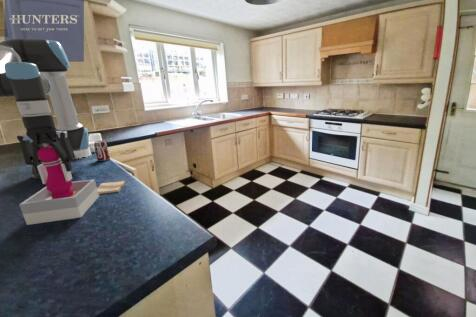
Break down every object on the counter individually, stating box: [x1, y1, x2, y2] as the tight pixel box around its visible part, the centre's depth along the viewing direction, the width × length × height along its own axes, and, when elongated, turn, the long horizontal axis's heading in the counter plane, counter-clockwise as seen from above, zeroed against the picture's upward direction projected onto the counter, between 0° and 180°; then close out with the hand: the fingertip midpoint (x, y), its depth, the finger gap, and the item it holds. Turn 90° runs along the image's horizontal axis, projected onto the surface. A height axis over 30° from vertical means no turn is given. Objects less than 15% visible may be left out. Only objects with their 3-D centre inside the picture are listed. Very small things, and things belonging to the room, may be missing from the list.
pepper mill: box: [37, 143, 74, 199], centre depth 76 cm, size 7×7×20 cm
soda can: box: [94, 139, 111, 162], centre depth 137 cm, size 7×7×12 cm
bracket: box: [73, 132, 103, 159], centre depth 156 cm, size 25×10×12 cm, turn 3°
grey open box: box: [18, 178, 100, 226], centre depth 80 cm, size 16×16×8 cm
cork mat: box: [97, 180, 126, 195], centre depth 97 cm, size 10×10×1 cm
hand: (58, 181), depth 78 cm, fingers closed on pepper mill, 6 cm apart
